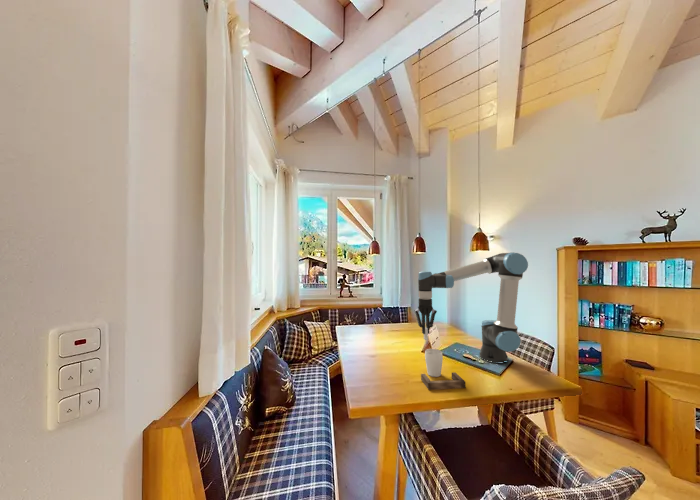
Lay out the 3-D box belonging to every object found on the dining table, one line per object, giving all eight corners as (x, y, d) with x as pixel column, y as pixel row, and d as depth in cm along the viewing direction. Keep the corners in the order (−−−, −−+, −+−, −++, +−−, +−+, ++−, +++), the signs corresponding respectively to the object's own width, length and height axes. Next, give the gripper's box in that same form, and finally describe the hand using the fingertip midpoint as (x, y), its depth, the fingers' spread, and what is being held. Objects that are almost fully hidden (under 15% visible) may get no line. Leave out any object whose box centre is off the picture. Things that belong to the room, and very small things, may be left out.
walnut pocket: (455, 378, 131) (455, 372, 132) (465, 388, 121) (465, 381, 122) (421, 379, 130) (421, 373, 130) (428, 389, 120) (428, 383, 120)
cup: (444, 378, 131) (443, 355, 131) (426, 377, 133) (425, 354, 133) (441, 371, 140) (441, 349, 140) (424, 370, 142) (424, 348, 142)
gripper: (433, 297, 153) (434, 337, 152) (412, 297, 152) (412, 337, 151) (438, 299, 145) (439, 341, 144) (416, 299, 144) (416, 341, 143)
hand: (425, 339), depth 147 cm, fingers closed
